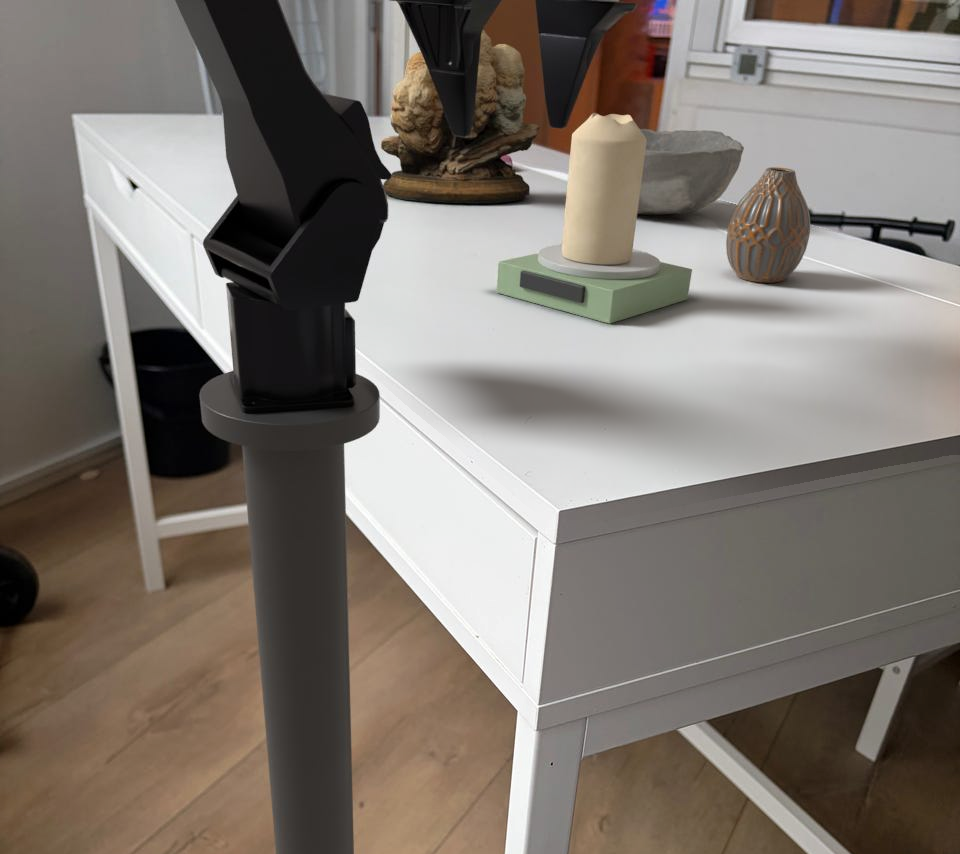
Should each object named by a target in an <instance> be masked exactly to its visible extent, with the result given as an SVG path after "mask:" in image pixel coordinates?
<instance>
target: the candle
mask: <svg viewBox="0 0 960 854" xmlns="http://www.w3.org/2000/svg"><path fill="white" fill-rule="evenodd" d="M640 129H641V128H639V126H638V125H637V123H636V122H635V120H634V119H633V117H632V116H631V115H630V114H623V115H622V114H616V113H610V114H606V115H600V114H599V113H597V112H593V113H591V115H590V116H589V117H588V118H586V120H585V121H584V122H583V123H582V124H581V125H580V126H579V127H578V128H576V129H575V130H574V131H573V133H572V134H571V142H570V153H569V162H568V163H569V164H568V174H567V175H568V176H567V184H566V185H567V186H566V195H565V196H566V197H565V198H566V199H565V206H564V216H563V217H564V218H563V219H564V220H563V230H562V238H561V239H562V241H561V244H562V255H563V256H564V257H565V258H567V259H570V260H573V261H577V262H582V263H588V264H600V265H614V264H623V263H627V262H629V261H630V259H631V256H632V250H633V249H634V241H635V233H636V226H637V219H638V214H637V212H638V204H639V196H640V188H641V181H642V173H643V165H644V157H645V149H646V142H647V139H646V138H645V136H644V134H643V133H642V131H641V130H640Z"/></svg>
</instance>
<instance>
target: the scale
mask: <svg viewBox="0 0 960 854" xmlns="http://www.w3.org/2000/svg"><path fill="white" fill-rule="evenodd" d="M497 267H498V268H497V278H496V279H497V280H496V282H497V283H496V293H497V294H499V295H504V296H508V297H511V298H515V299H518V300H522V301H525V302H529V303H532V304H537V305H541V306H544V307H547V308H551V309H555V310H558V311H562V312H565V313H570V314H573V315H577V316H580V317H583V318H587V319H591V320H594V321H599V322H602V323H605V324H609V325H610V324H613V323H616V322H619V321H622V320H626V319H629V318H632V317H635V316H638V315H639V316H640V315H643V314H645V313H649V312H652V311H655V310H658V309H661V308H664V307H668V306H671V305H674V304H677V303H681V302H684V301H687V300H688V299H689V298H688V297H689V292H690V287H691V286H690V285H691V281H692V273H693V269H692V268H689V267H685V266H681V265H676V264H671V263H667V262H664V261H661V260H660V259H659V258H658V257H656V256H655V255H653V254H651V253H648V252H646V251H642V250H639V249H635V248H633V250H632V256H631V259H630V261H629V262H627V263H623V264H614V265H600V264H588V263H582V262H577V261H573V260H570V259H567V258H565V257H564V256H563V255H562V243H561V244H554V245H550V246H549V245H548V246H545V247H543V248H542V249H540V250H539V251H538V252H537V253H533V254H528V255H524V256H518V257H513V258H509V259H505V260H500V261H498V263H497Z"/></svg>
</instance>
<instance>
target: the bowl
mask: <svg viewBox="0 0 960 854" xmlns="http://www.w3.org/2000/svg"><path fill="white" fill-rule="evenodd" d="M639 129H640V130H641V131H642V133H643V134H644V136H645V138H646V139H647V142H646V149H645V157H644V165H643V173H642V181H641V188H640V196H639V204H638V212H637V215H638V214H639V215H643V216H644V215H646V216H657V215H658V216H662V215H674V214H675V215H676V214H688V213H691V212H693V211H697V210H700V209H703V208H705V207H707V206H709V205H711V204H713V203H714V202H716V201H717V200H718V199H719V198H721V196H722V195H723V194H724V193H725V192H726V190H727V189H728V187H729V186H730V184H731V182H732V180H733V178H734V177H735V175H736V174H737V172H738V169H739V167H740V164H741V161H742V155H743V152H744V151H745V150H744V149H745V147H744V146H743V145H742V143H741V142H740V141H738V140H737V139H734V138H732V137H731V136H730V135H725V134H724V133H723V132H721V131H716V130H701V129H700V130H683V129H682V130H681V129H680V130H673V131H668V130H663V131H662V130H661V131H655V130H653V129H649V128H639Z"/></svg>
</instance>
